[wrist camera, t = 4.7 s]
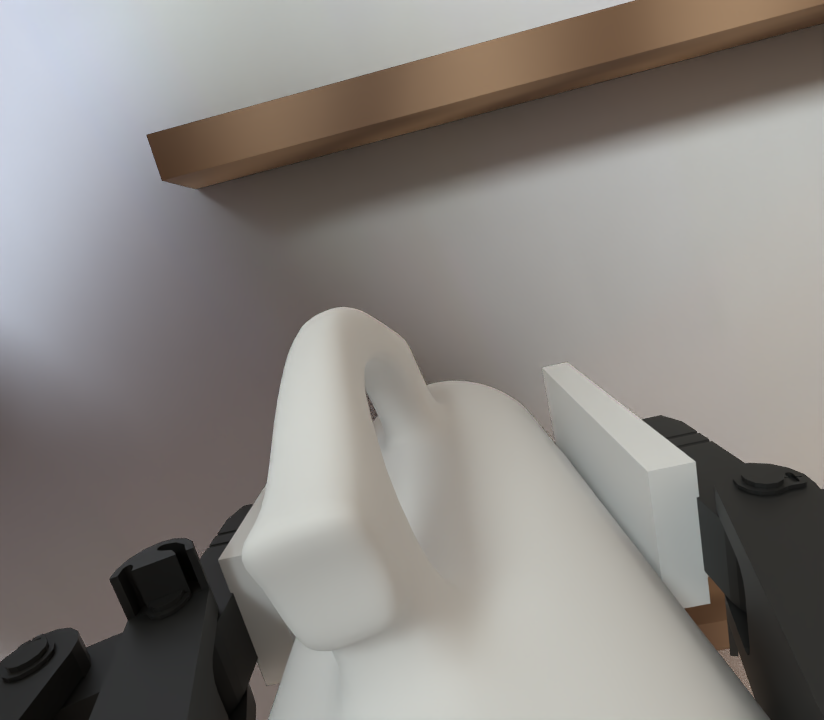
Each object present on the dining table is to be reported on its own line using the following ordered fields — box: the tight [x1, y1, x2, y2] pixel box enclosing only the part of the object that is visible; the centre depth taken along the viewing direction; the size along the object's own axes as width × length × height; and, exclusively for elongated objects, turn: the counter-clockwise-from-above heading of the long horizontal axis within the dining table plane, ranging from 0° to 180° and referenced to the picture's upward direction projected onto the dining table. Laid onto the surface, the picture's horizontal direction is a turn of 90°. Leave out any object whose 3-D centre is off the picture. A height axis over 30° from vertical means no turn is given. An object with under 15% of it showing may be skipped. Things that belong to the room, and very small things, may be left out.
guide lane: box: [147, 0, 824, 651], centre depth 15 cm, size 24×20×2 cm
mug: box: [242, 307, 771, 720], centre depth 9 cm, size 10×7×12 cm, turn 22°
